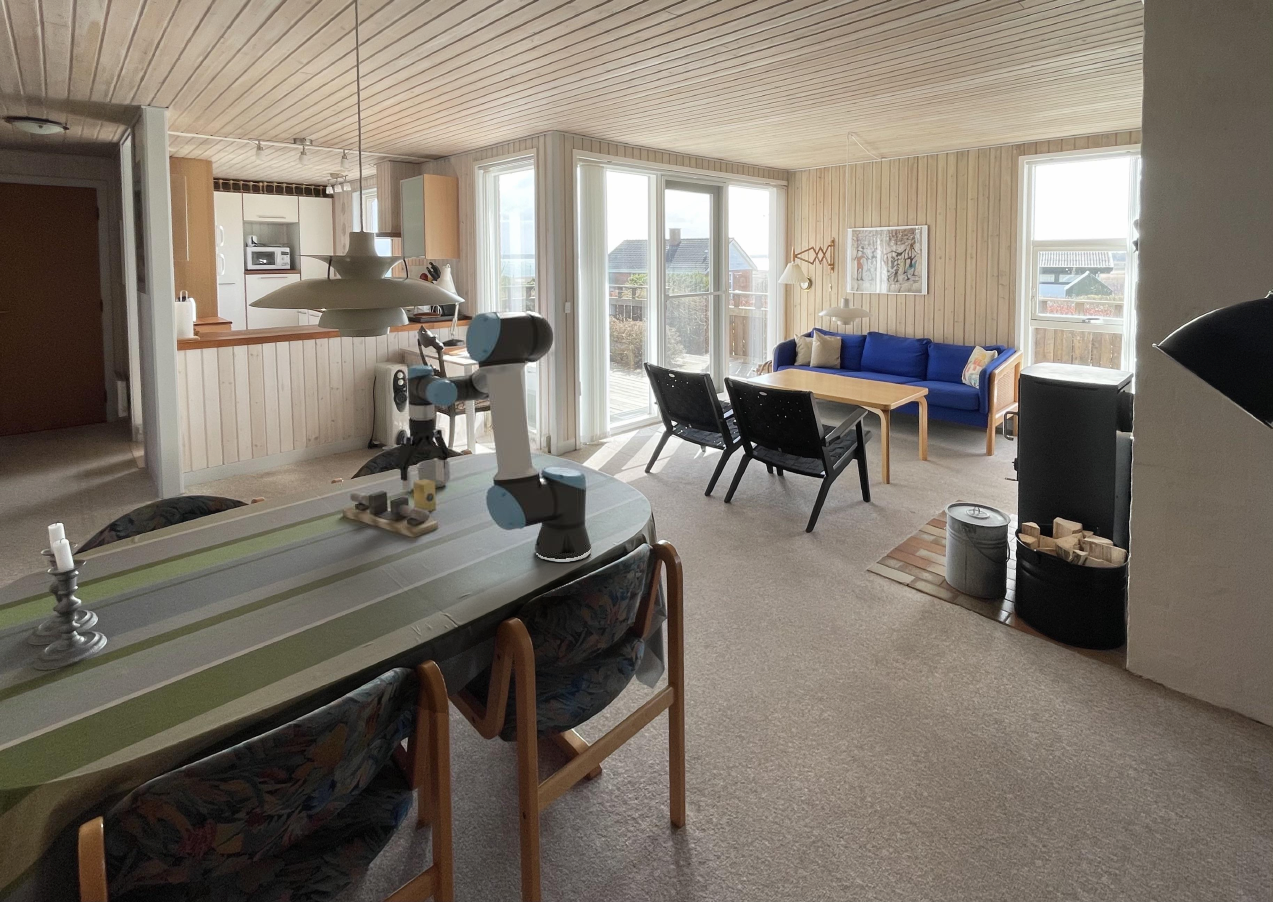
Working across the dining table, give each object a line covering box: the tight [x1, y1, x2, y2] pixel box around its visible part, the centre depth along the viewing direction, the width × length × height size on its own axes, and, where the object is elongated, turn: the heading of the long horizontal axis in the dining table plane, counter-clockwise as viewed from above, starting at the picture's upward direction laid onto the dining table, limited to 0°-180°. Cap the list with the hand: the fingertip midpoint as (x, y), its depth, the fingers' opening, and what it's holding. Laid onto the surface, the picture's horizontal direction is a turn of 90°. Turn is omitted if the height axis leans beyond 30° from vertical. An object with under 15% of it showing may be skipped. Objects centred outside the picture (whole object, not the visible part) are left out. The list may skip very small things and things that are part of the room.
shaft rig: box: [342, 490, 439, 538], centre depth 220 cm, size 30×9×8 cm, turn 59°
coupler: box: [413, 479, 437, 513], centre depth 232 cm, size 5×4×9 cm
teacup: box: [416, 457, 451, 489], centre depth 258 cm, size 14×11×8 cm
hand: (423, 484), depth 231 cm, fingers open, 13 cm apart
